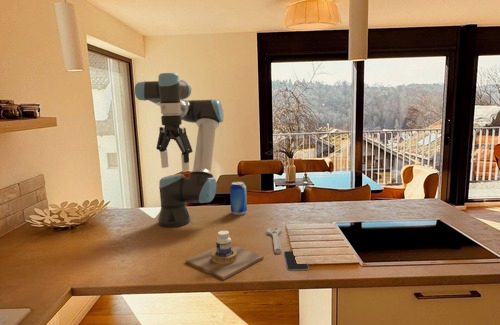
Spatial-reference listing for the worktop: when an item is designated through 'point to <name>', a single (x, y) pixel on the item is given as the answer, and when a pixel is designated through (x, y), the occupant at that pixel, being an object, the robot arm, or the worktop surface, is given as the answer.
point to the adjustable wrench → (275, 239)
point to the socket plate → (224, 268)
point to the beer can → (238, 198)
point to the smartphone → (293, 262)
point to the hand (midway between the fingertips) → (175, 169)
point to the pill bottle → (223, 244)
